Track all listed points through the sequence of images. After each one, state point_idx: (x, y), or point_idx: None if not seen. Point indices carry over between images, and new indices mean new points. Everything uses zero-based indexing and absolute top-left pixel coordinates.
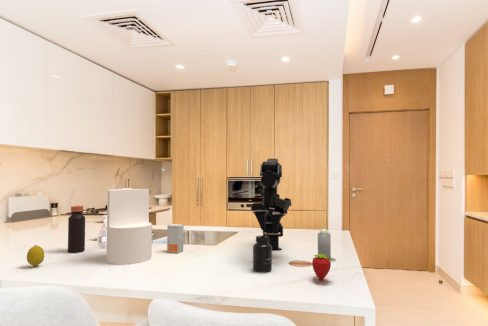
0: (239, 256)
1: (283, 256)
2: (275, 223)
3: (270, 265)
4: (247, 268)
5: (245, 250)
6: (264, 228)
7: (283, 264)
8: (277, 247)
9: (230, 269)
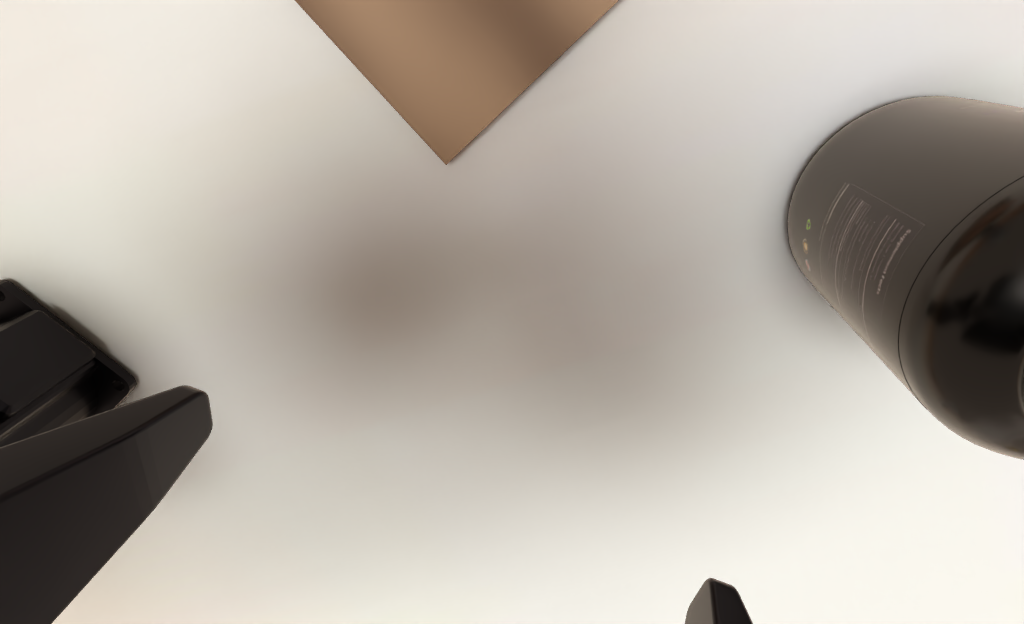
0: (460, 529)
1: (224, 175)
2: (31, 553)
3: (995, 103)
4: (848, 356)
5: (246, 547)
6: (736, 615)
7: (568, 53)
8: (30, 324)
9: (912, 466)
